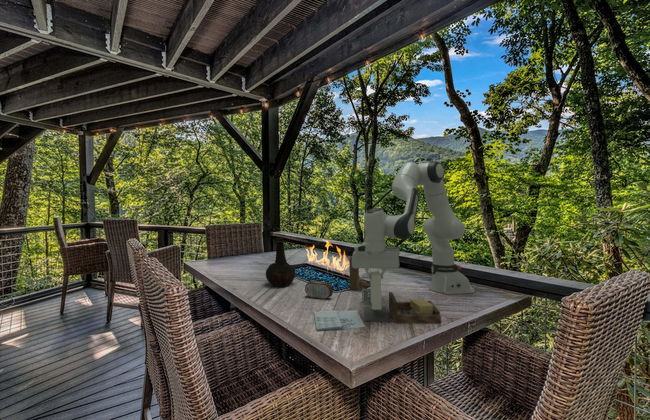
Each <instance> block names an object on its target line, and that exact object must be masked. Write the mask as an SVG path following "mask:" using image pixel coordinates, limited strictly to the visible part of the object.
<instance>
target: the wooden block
mask: <svg viewBox="0 0 650 420" xmlns="http://www.w3.org/2000/svg"><path fill="white" fill-rule="evenodd" d="M348 261H349V264H348V265H349V290H350V291H353V290H354V291H353V292H355V291H357V292H362V291H361V290H362V287H363V286H364V285H363V283H365V282H368V281H366V280H365V279H364V280H363V279H362V278H361V277H360V273H359V272H360V271H359V270H360V268H353V267H352V256H350V257H349V260H348ZM360 278H361V279H360ZM358 280H360V281H358ZM362 280H363V281H362ZM357 281H358V282H359V285H358V283H357ZM357 286H358V288H357ZM359 287H360V288H359ZM363 288H364V287H363ZM358 289H359V290H358ZM360 289H361V290H360Z"/></svg>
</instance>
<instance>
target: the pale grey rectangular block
mask: <svg viewBox="0 0 650 420" xmlns="http://www.w3.org/2000/svg"><path fill="white" fill-rule="evenodd" d="M369 272H370V274H371V277H372V278H371V279H369V282H370V283H371V287H370V289H371V304H372V308H373V309H381V308H382V279H381V275H380V274H381V273H380V270H379V269H369Z"/></svg>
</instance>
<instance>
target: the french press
mask: <svg viewBox="0 0 650 420" xmlns="http://www.w3.org/2000/svg"><path fill="white" fill-rule="evenodd" d="M368 272H369V274H370V271H368ZM360 279H361V280H362V281H363V280H364V281H365V279H368V274H367V272H365V273H363V274H362V275H361V277H360ZM358 281H360V280H358ZM358 281H357V283H358V285H359V282H358ZM363 285H364V286H363V287H364V288H363V287H362V290H361V289H360V290H361V291H360V293H361V294H362V297H361V298H362V299H361V302H360V306H362V307H363V308H372V304H371V283H370V281H367V282H365V283H363ZM357 288H358V286H357ZM359 288H360V287H359ZM358 290H359V289H358Z"/></svg>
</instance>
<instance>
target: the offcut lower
mask: <svg viewBox="0 0 650 420" xmlns="http://www.w3.org/2000/svg"><path fill="white" fill-rule="evenodd" d="M411 313H412V314H420V313H418V312H417V311H416V310H414V309H413V308H412V310H411ZM422 314H432V315H433V313H422Z"/></svg>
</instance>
